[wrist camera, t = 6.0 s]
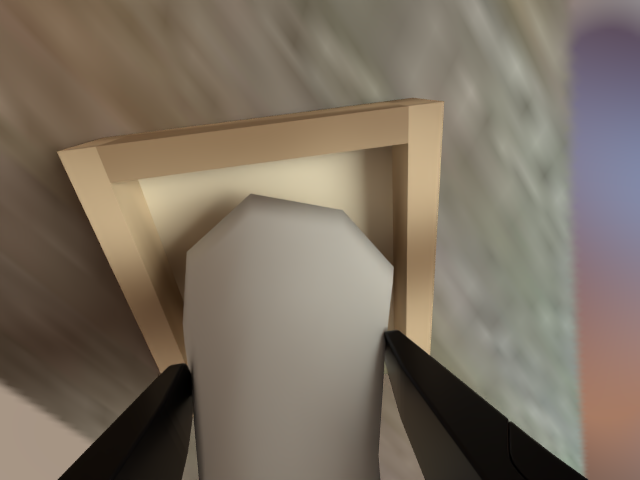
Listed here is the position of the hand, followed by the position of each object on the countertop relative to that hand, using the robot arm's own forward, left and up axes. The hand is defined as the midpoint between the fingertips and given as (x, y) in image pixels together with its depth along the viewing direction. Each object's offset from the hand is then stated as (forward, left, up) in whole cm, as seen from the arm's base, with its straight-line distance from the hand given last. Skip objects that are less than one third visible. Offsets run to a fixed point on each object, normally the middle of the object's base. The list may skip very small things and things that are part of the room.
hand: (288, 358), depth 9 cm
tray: (0, 0, -5) cm, 5 cm away
